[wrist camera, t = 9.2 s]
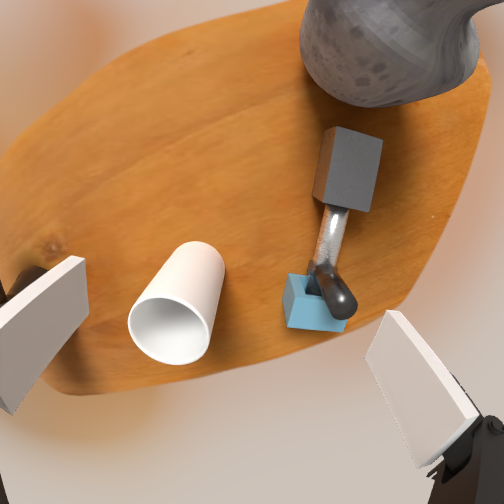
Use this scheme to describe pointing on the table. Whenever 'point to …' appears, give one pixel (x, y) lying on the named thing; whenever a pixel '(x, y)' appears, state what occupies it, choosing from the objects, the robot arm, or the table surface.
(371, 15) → the vase
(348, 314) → the handle
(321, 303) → the socket
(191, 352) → the cup
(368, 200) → the block
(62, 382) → the table surface
